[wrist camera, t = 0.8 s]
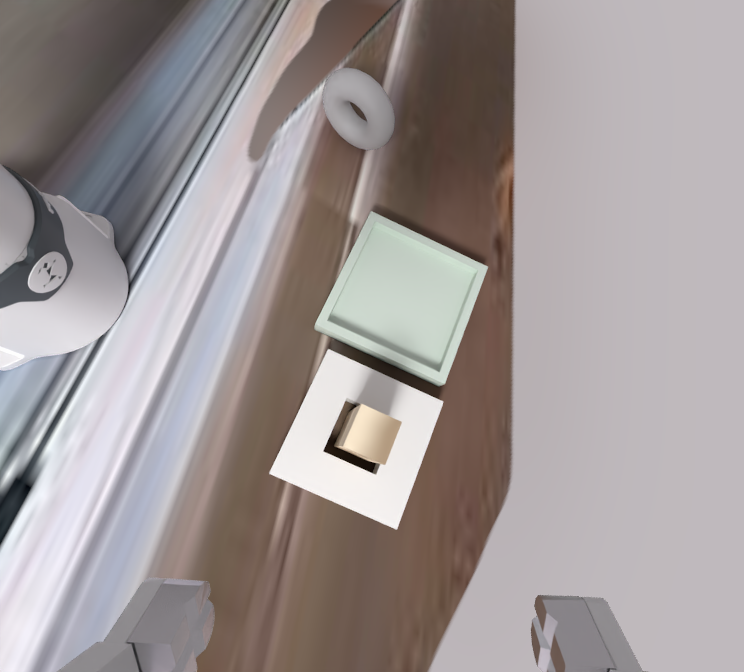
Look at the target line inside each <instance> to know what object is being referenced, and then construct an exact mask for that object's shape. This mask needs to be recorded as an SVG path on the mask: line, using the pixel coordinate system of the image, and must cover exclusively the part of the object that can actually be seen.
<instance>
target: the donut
mask: <svg viewBox="0 0 744 672" xmlns="http://www.w3.org/2000/svg"><path fill="white" fill-rule="evenodd" d="M322 96H323V106H324V109H325V112H326V115H327V118H328V120H329V121H330V123H331V125H332V126H333V128H334V129H335V130H336V131H337V133H338V134H339V135H340V136H341V137H342V138H343V139H344V140H346V141H347V142H348V143H350V144H351V145H353V146H355V147H357V148H360V149H364V150H376V149H379V148H381V147H382V146H384V145H385V144H387V143H388V141H389V140H390V138H391V136H392V134H393V132H394V124H395V116H394V111H393V107H392V104H391V102H390V100H389V98H388V96H387V94H386V92H385V91H384V90H383V88H382V87H381V86H380V84H379V83H378V82H377V81H375V80H374V79H373V78H372V77H371V76H370V75H368V74H366V73H364V72H362V71H360V70H358V69H353V68H343V69H340V70H337V71H335V72H333V73H332V74H331V75H330V77H329V78H328V79H327V80H326V82H325V85H324V89H323V94H322ZM350 102H352V103H354V104H355V105H356V106H358V107H359V108H360V109H361V111H362V112H363V113H364V115H365V117H366V119H367V121H365V120H363V119H362V118H360V117H359V116H358V115H357V114H356V112H355V111H354V110H353V108H352V106H351V104H350Z"/></svg>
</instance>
